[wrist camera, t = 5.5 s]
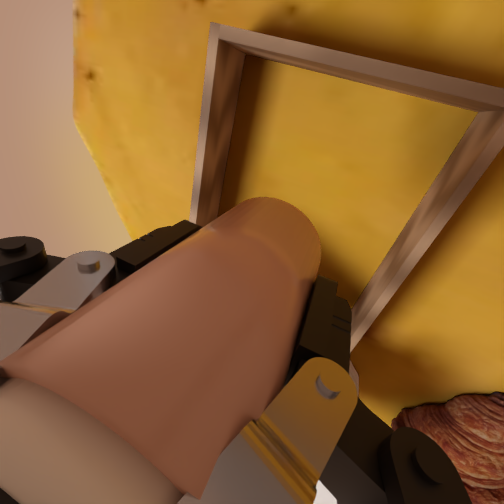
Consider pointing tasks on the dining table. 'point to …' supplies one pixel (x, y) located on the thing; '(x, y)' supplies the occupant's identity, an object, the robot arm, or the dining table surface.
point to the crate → (368, 72)
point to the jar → (160, 366)
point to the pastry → (467, 439)
